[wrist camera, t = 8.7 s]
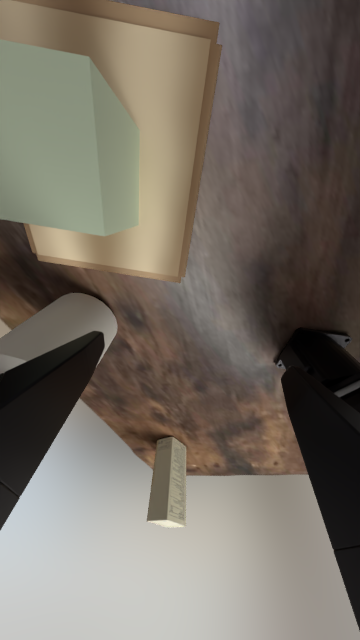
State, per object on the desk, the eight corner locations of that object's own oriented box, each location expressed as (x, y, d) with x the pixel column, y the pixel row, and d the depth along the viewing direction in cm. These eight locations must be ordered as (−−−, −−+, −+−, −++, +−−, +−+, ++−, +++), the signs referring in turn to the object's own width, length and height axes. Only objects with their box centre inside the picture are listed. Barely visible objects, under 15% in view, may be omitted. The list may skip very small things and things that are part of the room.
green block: (139, 130, 10) (89, 56, 5) (138, 225, 13) (104, 236, 8) (54, 114, 10) (-81, 23, 5) (71, 213, 13) (-6, 218, 8)
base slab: (218, 64, 11) (226, 19, 8) (184, 273, 18) (183, 284, 15) (-1, 21, 10) (-63, -38, 8) (56, 253, 17) (33, 260, 15)
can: (52, 284, 19) (-97, 366, 9) (118, 295, 20) (42, 386, 10) (66, 335, 24) (-27, 431, 14) (121, 344, 24) (69, 444, 14)
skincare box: (156, 439, 39) (144, 521, 29) (173, 435, 37) (166, 520, 27) (171, 450, 42) (165, 528, 31) (187, 447, 40) (186, 528, 30)
